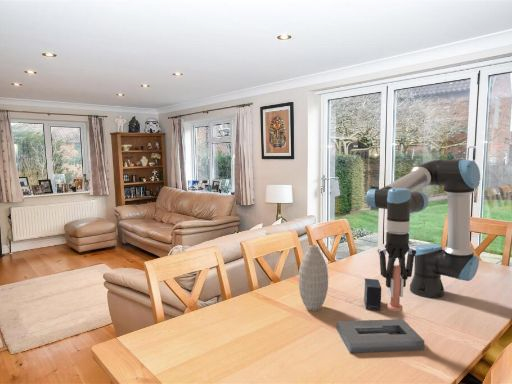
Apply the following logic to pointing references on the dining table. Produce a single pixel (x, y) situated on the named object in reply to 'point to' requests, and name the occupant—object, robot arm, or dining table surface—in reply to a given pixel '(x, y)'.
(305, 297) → the vase
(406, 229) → the robot arm
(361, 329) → the grey slotted plate
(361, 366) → the dining table surface
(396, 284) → the stud
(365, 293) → the small box
